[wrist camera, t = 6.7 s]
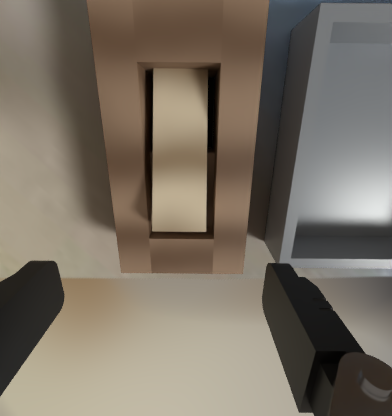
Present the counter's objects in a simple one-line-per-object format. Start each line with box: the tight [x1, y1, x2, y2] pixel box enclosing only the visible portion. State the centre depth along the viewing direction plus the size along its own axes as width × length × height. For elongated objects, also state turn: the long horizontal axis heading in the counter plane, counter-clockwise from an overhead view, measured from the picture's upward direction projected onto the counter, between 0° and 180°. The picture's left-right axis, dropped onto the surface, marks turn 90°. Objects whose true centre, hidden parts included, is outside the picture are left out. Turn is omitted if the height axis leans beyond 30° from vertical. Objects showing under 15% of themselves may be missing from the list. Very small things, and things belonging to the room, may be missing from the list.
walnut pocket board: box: [87, 0, 269, 274], centre depth 20 cm, size 20×11×6 cm, turn 0°
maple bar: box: [152, 68, 208, 232], centre depth 18 cm, size 12×4×2 cm, turn 179°
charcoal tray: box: [264, 3, 392, 269], centre depth 21 cm, size 20×18×5 cm
